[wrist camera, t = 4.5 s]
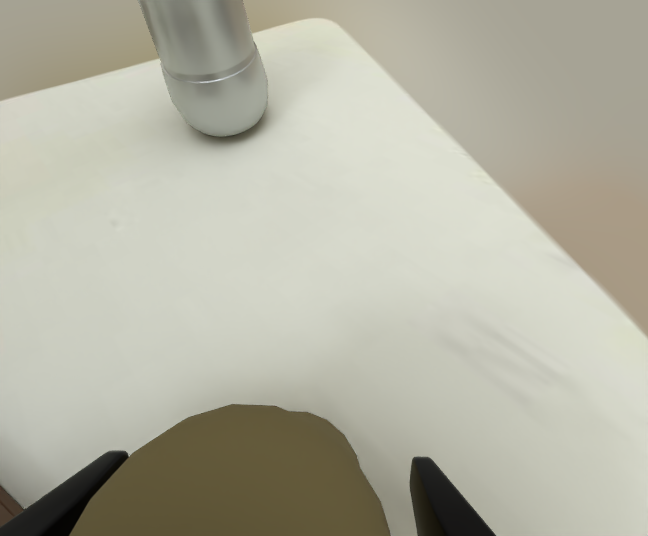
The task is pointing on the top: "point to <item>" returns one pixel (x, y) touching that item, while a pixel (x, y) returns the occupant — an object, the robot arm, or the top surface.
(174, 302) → the top surface
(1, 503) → the tray
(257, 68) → the plastic bottle
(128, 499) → the cork
